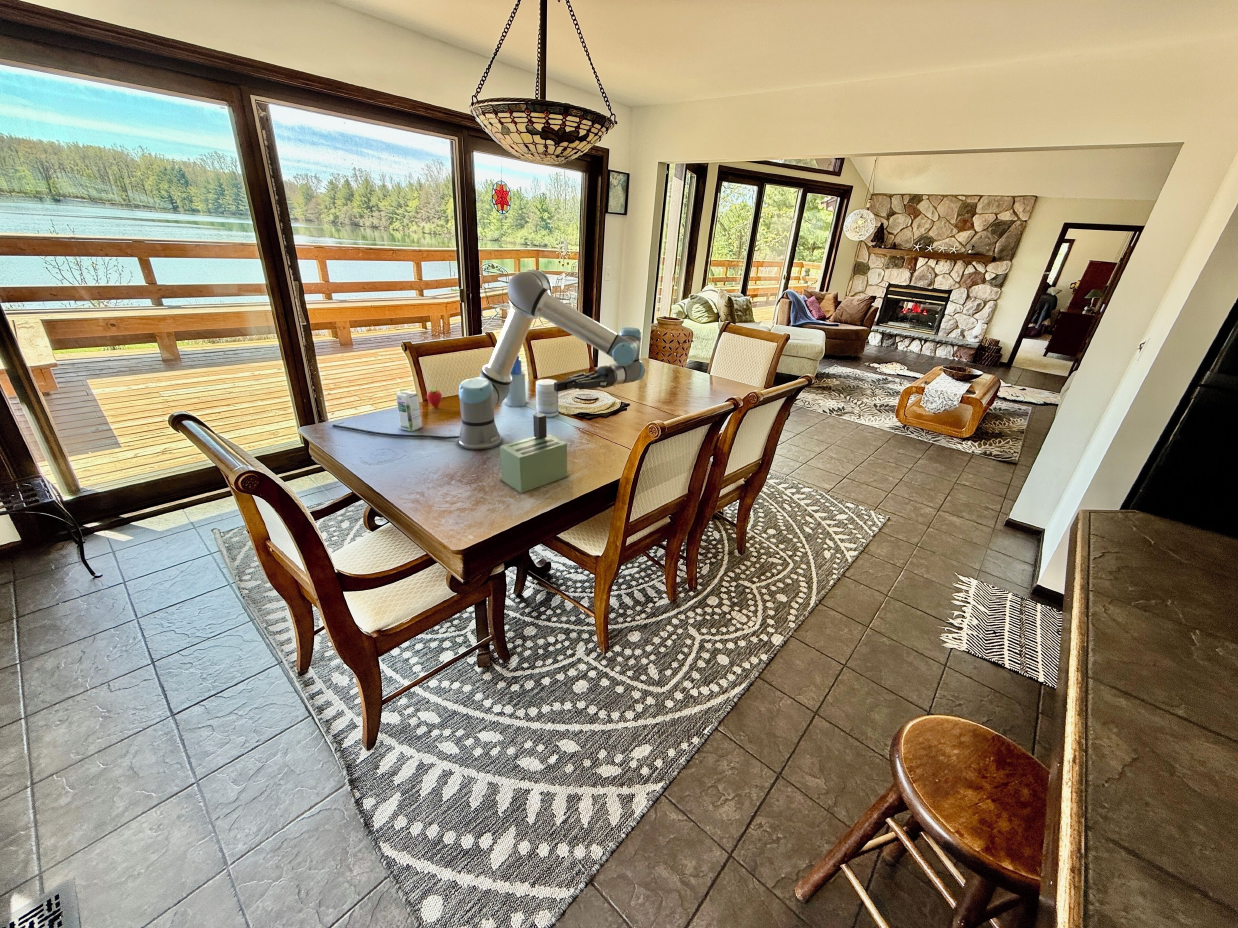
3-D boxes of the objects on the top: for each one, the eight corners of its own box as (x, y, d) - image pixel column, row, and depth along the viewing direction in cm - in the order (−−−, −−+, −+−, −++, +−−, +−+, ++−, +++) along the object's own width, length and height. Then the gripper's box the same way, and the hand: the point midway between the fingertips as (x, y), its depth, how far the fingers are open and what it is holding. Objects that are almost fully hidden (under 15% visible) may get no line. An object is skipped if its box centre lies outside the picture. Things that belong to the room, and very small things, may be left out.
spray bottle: (530, 403, 225) (528, 349, 214) (516, 407, 218) (514, 352, 207) (515, 399, 229) (513, 346, 218) (502, 403, 222) (499, 349, 212)
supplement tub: (562, 415, 211) (562, 383, 205) (542, 419, 206) (541, 386, 200) (552, 409, 219) (551, 377, 212) (533, 412, 214) (532, 380, 207)
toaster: (521, 493, 147) (519, 457, 142) (501, 480, 154) (499, 445, 149) (567, 476, 159) (567, 442, 154) (547, 465, 166) (546, 432, 161)
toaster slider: (539, 439, 155) (538, 417, 152) (533, 436, 157) (533, 414, 154) (546, 437, 157) (546, 415, 154) (541, 434, 159) (540, 412, 155)
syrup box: (400, 429, 189) (394, 393, 183) (411, 424, 194) (406, 389, 188) (411, 431, 187) (406, 396, 181) (422, 427, 192) (417, 392, 186)
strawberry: (425, 410, 209) (422, 388, 205) (432, 405, 216) (430, 383, 212) (438, 411, 209) (435, 389, 205) (445, 406, 216) (443, 384, 212)
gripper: (621, 390, 167) (568, 403, 152) (596, 382, 175) (543, 393, 160) (622, 369, 164) (568, 380, 148) (597, 361, 172) (543, 371, 157)
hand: (555, 387), depth 154 cm, fingers closed
